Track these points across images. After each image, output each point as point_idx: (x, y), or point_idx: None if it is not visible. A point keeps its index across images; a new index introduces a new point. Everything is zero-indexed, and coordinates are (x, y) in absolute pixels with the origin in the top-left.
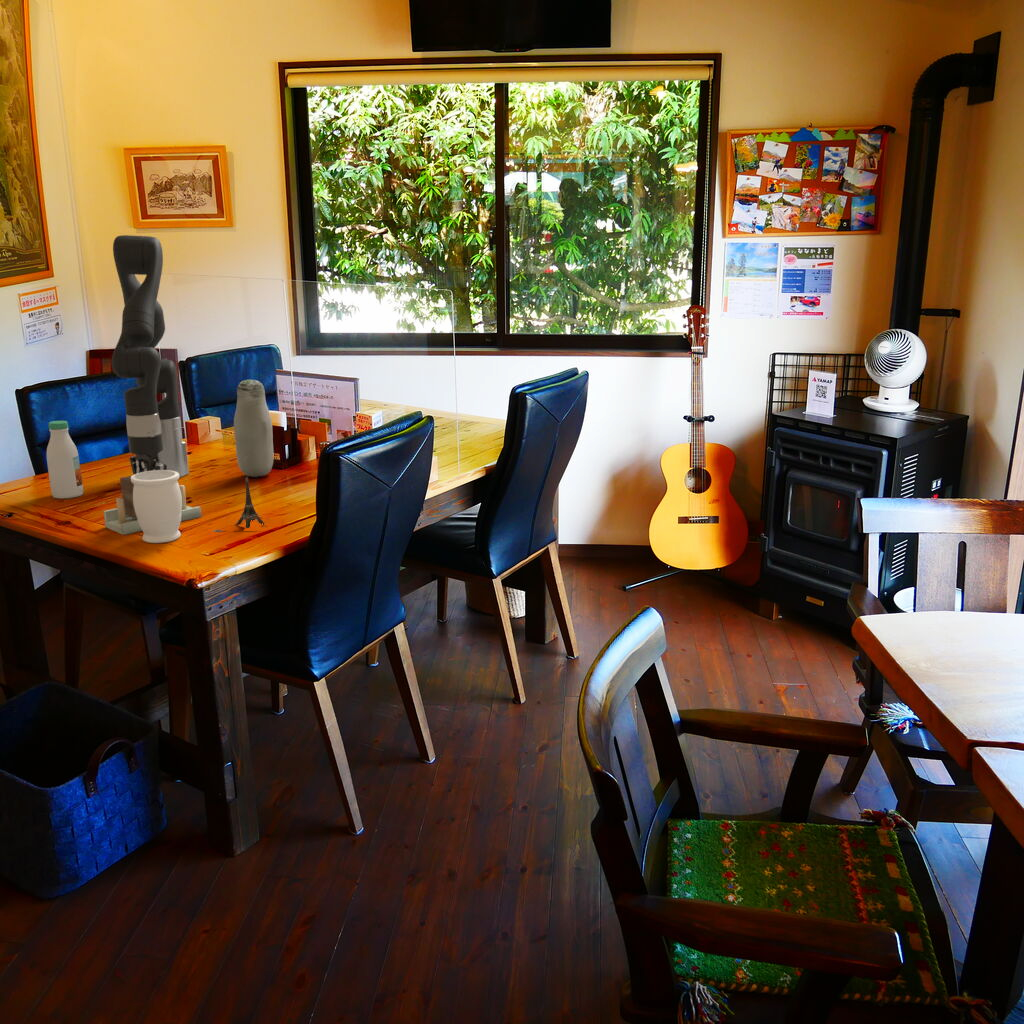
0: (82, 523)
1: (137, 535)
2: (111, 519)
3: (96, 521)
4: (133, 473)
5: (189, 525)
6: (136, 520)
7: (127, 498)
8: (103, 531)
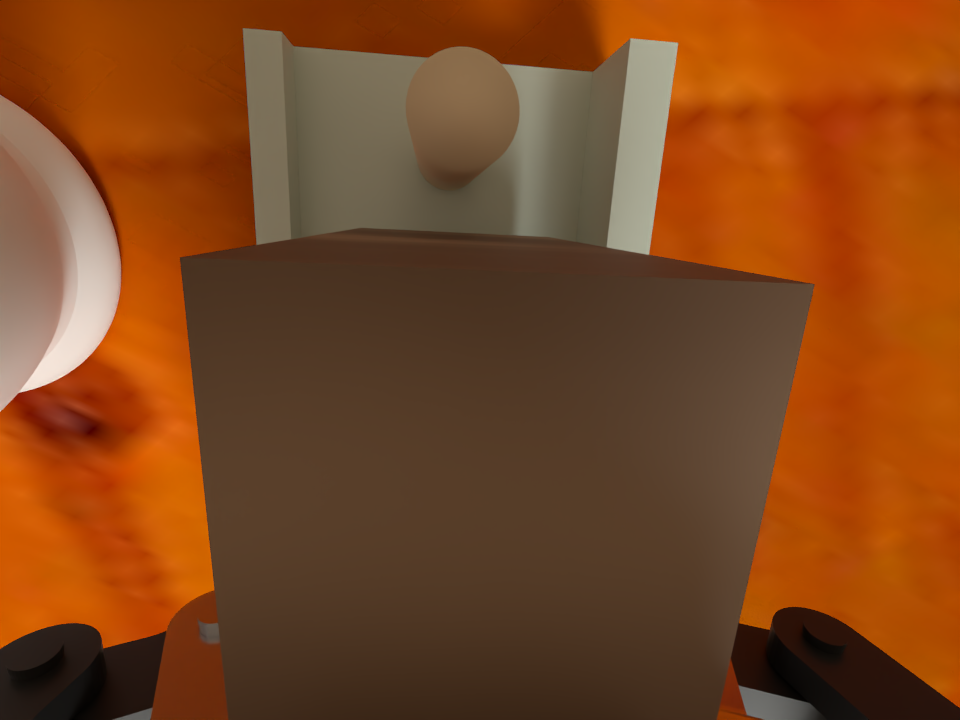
0: (860, 13)
1: (181, 142)
2: (592, 122)
3: (807, 128)
4: (953, 718)
5: (162, 539)
6: (290, 217)
7: (447, 239)
8: (513, 2)
